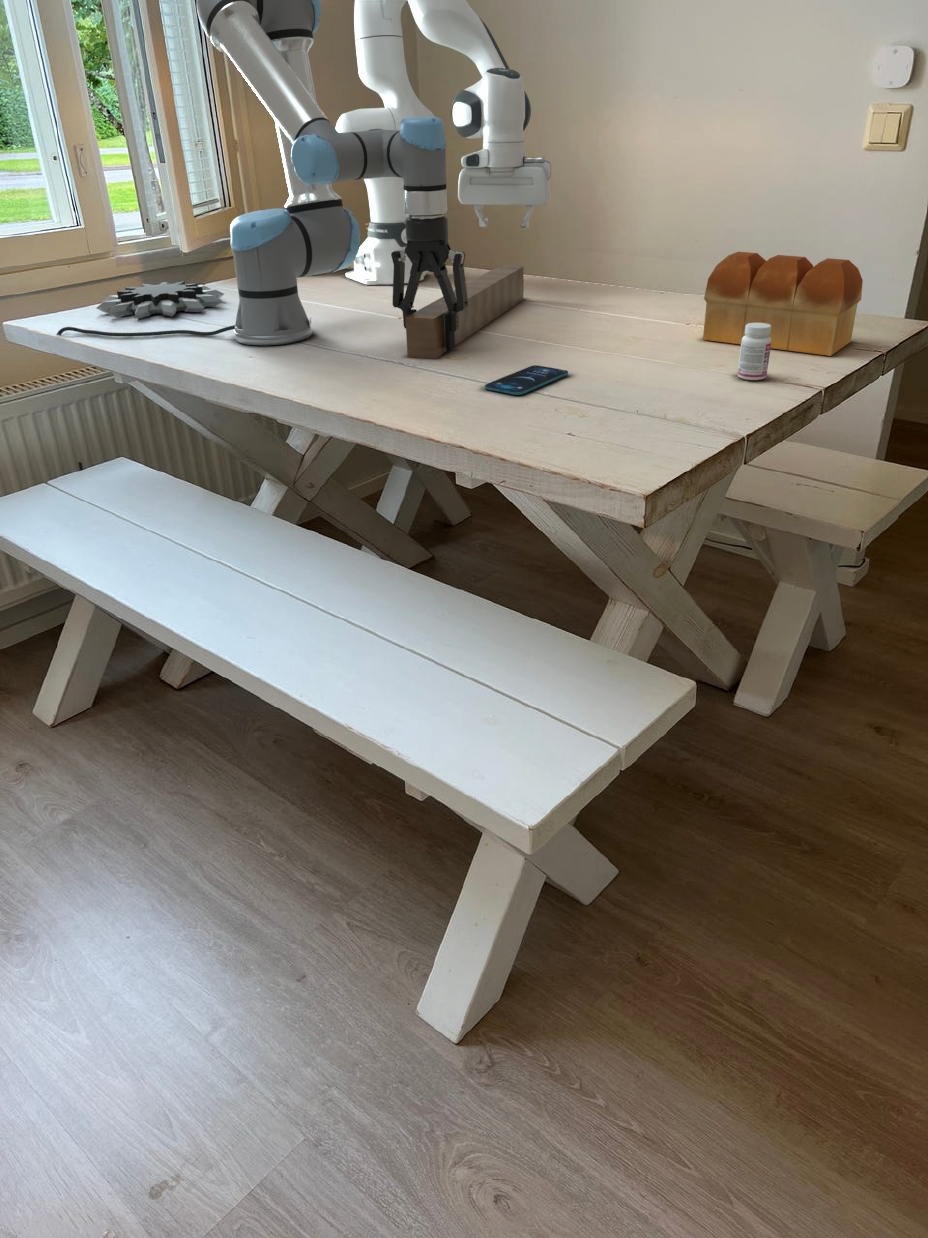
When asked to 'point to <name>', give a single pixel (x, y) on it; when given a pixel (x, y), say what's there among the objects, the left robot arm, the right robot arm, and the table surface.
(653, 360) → the table surface
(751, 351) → the pill bottle
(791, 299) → the bread
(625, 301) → the table surface
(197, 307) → the decorative piece
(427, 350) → the bar
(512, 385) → the smartphone
